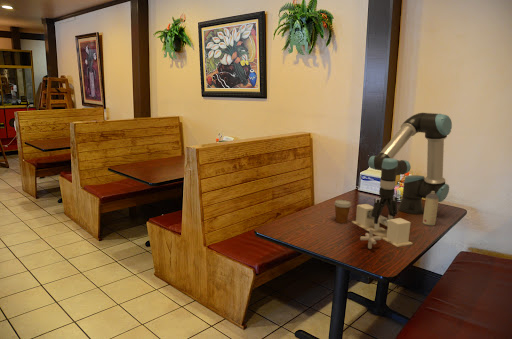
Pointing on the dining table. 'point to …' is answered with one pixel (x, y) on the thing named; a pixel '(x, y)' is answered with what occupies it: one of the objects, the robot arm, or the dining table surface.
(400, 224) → the socket
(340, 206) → the disposable coffee cup
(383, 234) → the board
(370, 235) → the pipe connector
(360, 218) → the sleeve
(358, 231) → the dining table surface
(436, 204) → the aerosol can
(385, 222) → the tube
